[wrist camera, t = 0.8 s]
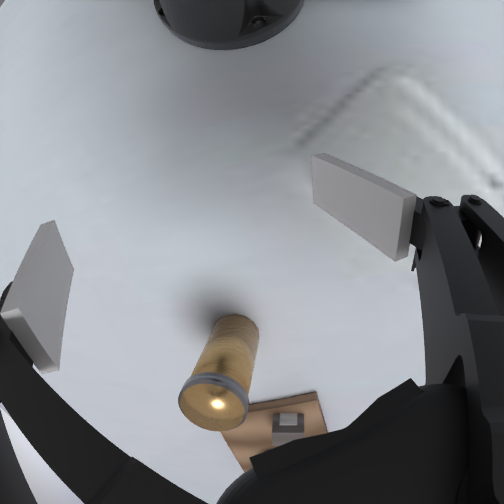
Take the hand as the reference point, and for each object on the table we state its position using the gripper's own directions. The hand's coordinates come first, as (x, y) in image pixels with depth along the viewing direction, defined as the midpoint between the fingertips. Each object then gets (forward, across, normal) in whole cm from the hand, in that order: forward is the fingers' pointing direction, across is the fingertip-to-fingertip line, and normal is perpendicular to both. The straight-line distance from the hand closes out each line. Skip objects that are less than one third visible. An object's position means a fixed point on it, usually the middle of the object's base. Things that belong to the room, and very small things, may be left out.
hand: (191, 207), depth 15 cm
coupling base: (+2, +5, -40) cm, 40 cm away
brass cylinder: (+10, +3, -19) cm, 22 cm away
